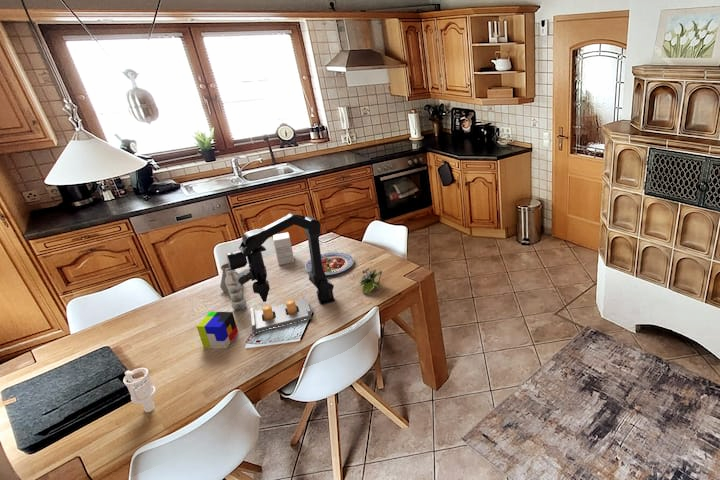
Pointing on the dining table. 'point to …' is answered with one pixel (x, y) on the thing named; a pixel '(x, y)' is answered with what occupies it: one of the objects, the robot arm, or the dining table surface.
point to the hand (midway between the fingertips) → (263, 296)
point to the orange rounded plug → (267, 313)
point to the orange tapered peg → (291, 307)
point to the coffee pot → (223, 285)
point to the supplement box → (283, 248)
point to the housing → (280, 316)
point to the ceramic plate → (333, 262)
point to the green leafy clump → (370, 280)
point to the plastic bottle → (235, 290)
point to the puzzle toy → (217, 329)
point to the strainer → (140, 389)
